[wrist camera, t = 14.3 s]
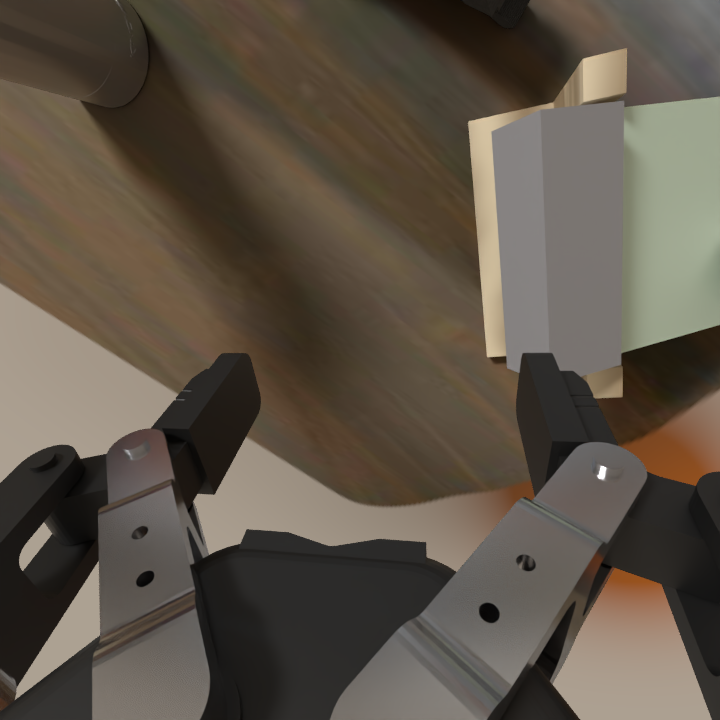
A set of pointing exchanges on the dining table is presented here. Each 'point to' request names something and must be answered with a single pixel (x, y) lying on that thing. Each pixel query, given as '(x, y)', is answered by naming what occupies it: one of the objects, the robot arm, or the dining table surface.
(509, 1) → the gun
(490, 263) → the frame
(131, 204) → the dining table surface
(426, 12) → the dining table surface
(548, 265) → the trapdoor
